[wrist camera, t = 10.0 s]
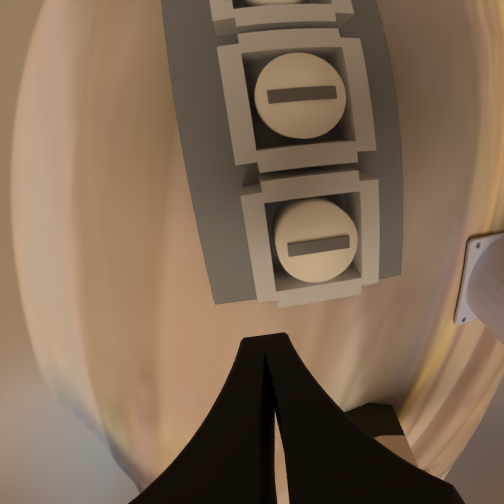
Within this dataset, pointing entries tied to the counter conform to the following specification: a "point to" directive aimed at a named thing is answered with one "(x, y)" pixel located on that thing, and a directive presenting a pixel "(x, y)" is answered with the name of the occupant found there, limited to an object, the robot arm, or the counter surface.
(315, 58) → the knob
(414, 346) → the counter surface
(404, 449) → the wine bottle
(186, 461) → the robot arm
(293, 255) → the knob
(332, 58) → the mount board
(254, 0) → the knob
